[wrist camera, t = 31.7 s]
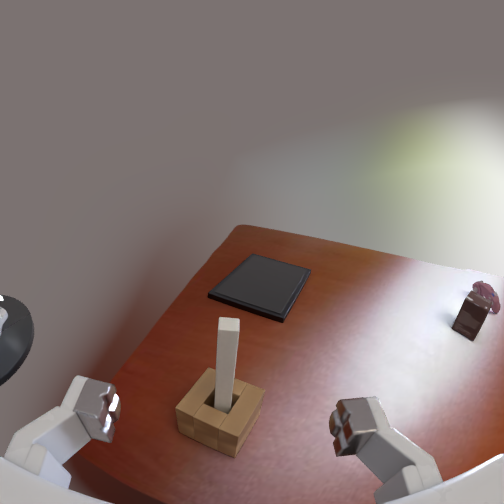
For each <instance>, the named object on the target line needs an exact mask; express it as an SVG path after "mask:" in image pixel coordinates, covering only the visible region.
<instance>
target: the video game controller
mask: <svg viewBox="0 0 504 504" xmlns="http://www.w3.org/2000/svg"><path fill="white" fill-rule="evenodd" d="M473 291H474V292H476V293H477V294H479V295H481V296H484V297H485V298H486V299H488V300H490V301H491V302H492V305H491V308H492V310H493V312H494V313H498V312H499V310H500V303H499V297H498V296H497V293H496V292H495V291H494V290H493V288H492V287H491V286H490V285H489V284H486V283H483V281H478V282H476V283H474V284H473Z"/></svg>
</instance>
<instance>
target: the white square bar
mask: <svg viewBox="0 0 504 504" xmlns="http://www.w3.org/2000/svg"><path fill="white" fill-rule="evenodd" d="M238 338H239V319H235V318H222V317H220V318H219V325H218V340H217V359H216V380H215V404H214V408H215V409H217V410H219V411H222V412H224V413H226V414H229V412H230V410H231V401H232V392H233V383H234V374H235V365H236V356H237V347H238Z"/></svg>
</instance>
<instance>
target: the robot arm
mask: <svg viewBox="0 0 504 504" xmlns="http://www.w3.org/2000/svg"><path fill="white" fill-rule="evenodd" d="M0 300H1V301H3V298H2V296H0ZM7 318H8V314H7V312H6V310H5V309H3V308H2V307H0V335H1V331H2V326H3V324H4V322H5V321H6V319H7ZM115 393H116V388H115V385H114V384H109V383H105V382H101V381H97V380H93V379H90V378H85V377H82V376H76V377H75V378H74V379H73V381H72V383H71V385H70V387H69V389H68V391H67V393H66V396H65V398H64V400H63V402H62V404H61V406H60V407H58V406H57V407H55V408H54V409H52V410H50V411H49V412H47V413H45V414H44V415H42V416H40V417H39V418H37V419H36V420H34V421H32V422H31V423H29V424H28V425H26V426H24V427H23V428H21V429H19V430H18V431H16V432H15V434H14V436H13V438H12V440H11V442H10V444H9V447H8V449H7V451H6V454H5V456H4V458H2V457H1V456H0V504H113V503H109V502H106V501H102V500H99V499H96V498H92V497H90V496H87V495H84V494H81V493H78V492H75V491H72V490H70V489H68V487H69V483H70V480H71V475H70V474H69V472H67V471H66V469H65V468H64V467H63V466H62V464H63V463H65V462H66V461H67V460H68V459H69V458H70V457H72V456H73V455H74V454H75V453H76V452H77V451H78V450H79V449H81V448H82V447H83V446H84V445H85V444H86V443H87V442H89V441H90V440H91V438H93V439H97V440H101V441H105V442H109V443H111V442H112V439H113V435H114V432H115V427H114V425H113V423H114V422H116V421H117V420H118V419H119V415H120V408H121V405H120V400H119V397H118V396H117V395H115ZM336 407H337V409H336V410H335V411H333V412H332V414H331V416H330V420H329V428H330V433H331V434H332V435H333V436H334V437H335V440H334V442H333V445H334V449H335V453H336V457H338V456H347V455H355V454H357V455H356V456H357V457H358V458H359V459H360V460H361V461H362V462H363V463H364V464H365V465H366V466H367V467H368V468H369V469H370V470H371V471H372V472H373V473H374V474H375V475H376V476H377V477H378V478H379V479H380V480H381V481H382V482H383V483H384V484H383V485H382V486H381V487H379V488H378V489H377V490H376V491H375V492H374V497H375V501H376V504H504V454H499V455H497V456H495V457H493V458H491V459H490V460H488V461H486V462H484V463H482V464H480V465H479V466H477V467H475V468H473V469H471V470H469V471H467V472H465V473H463V474H461V475H458V476H456V477H454V478H452V479H450V480H447V481H445V482H443V480H442V477H441V475H440V472H439V470H438V467H437V465H436V463H435V460H434V458H433V457H432V456H431V455H429V454H428V453H427V452H425V451H424V450H423V449H421V448H420V447H419V446H417V445H416V444H415V443H413V442H412V441H410V440H409V439H408V438H406V437H405V436H404V435H403V434H401V433H400V432H399V431H397V430H396V429H395V428H390V425H389V423H388V420H387V418H386V415H385V413H384V410H383V408H382V406H381V403H380V401H379V398H377V397H376V396H373V397H366V398H363V397H362V398H352V399H342V400H339V401H338V403H337V404H336Z"/></svg>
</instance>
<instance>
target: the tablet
mask: <svg viewBox="0 0 504 504" xmlns="http://www.w3.org/2000/svg"><path fill="white" fill-rule="evenodd" d="M310 273H311V270H310V269H306V268H303V267H299V266H296V265H292V264H288V263H285V262H281V261H278V260H274V259H270V258H267V257H263V256H260V255H256V254H251V255H250V256H249V257H248V258H247V259H246V260H245V261H244V262H242V263H241V264H240V265H239V266H238V267H237V268H236V269H235V270H233V271H232V272H231V273H230V274H229V275H228V276H227V277H226V278H224V279H223V280H222V281H221V282H220V283H219V284H218V285H217V286H215V287H214V288H213V289H212V290H211V291H210V292H209V293H208V298H211V299H214V300H216V301H219V302H222V303H225V304H228V305H231V306H233V307H236V308H239V309H242V310H245V311H248V312H251V313H254V314H257V315H260V316H263V317H266V318H269V319H272V320H275V321H278V322H281V323H283V322H284V320H285V318H286V317H287V315H288V313H289V311H290V310H291V308H292V306H293V304H294V303H295V301H296V299H297V297H298V295H299V294H300V292H301V290H302V288H303V286H304V284H305V283H306V281H307V279H308V277H309V275H310Z"/></svg>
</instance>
